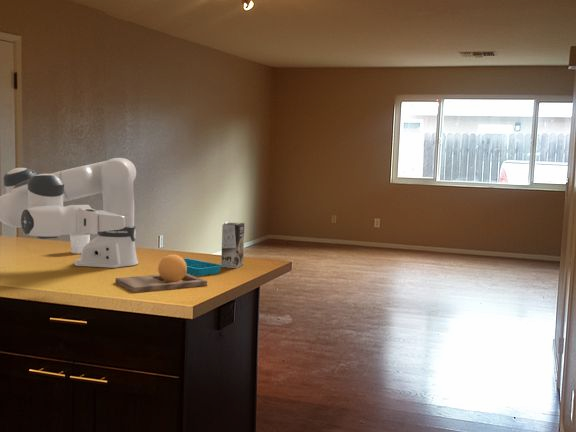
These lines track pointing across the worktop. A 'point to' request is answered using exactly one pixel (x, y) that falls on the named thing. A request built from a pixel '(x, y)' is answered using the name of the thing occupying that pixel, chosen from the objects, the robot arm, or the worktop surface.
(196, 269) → the ice cube tray
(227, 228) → the coffee box
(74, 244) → the white cup
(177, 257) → the ball
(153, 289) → the walnut board
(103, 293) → the worktop surface
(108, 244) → the robot arm
